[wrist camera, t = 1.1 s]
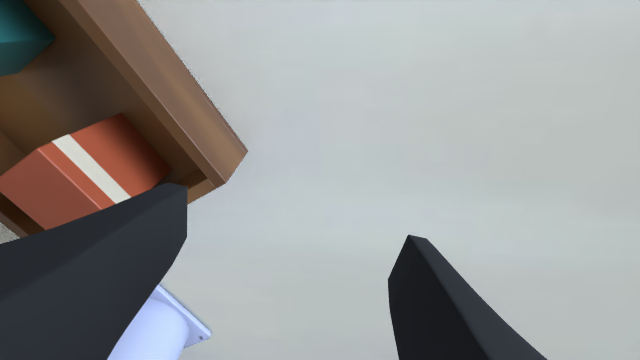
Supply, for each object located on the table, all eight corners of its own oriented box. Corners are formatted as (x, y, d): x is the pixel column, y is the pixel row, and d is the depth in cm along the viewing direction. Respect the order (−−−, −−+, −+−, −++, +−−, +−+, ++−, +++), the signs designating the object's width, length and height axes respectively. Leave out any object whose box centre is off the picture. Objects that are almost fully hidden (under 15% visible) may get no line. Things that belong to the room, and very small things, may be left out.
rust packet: (135, 193, 21) (68, 250, 16) (82, 140, 19) (-12, 183, 14) (173, 169, 20) (115, 222, 15) (121, 111, 18) (35, 147, 13)
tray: (109, 231, 23) (64, 273, 19) (-117, 23, 17) (-248, 24, 13) (248, 151, 19) (226, 183, 16) (23, -154, 13) (-104, -223, 10)
